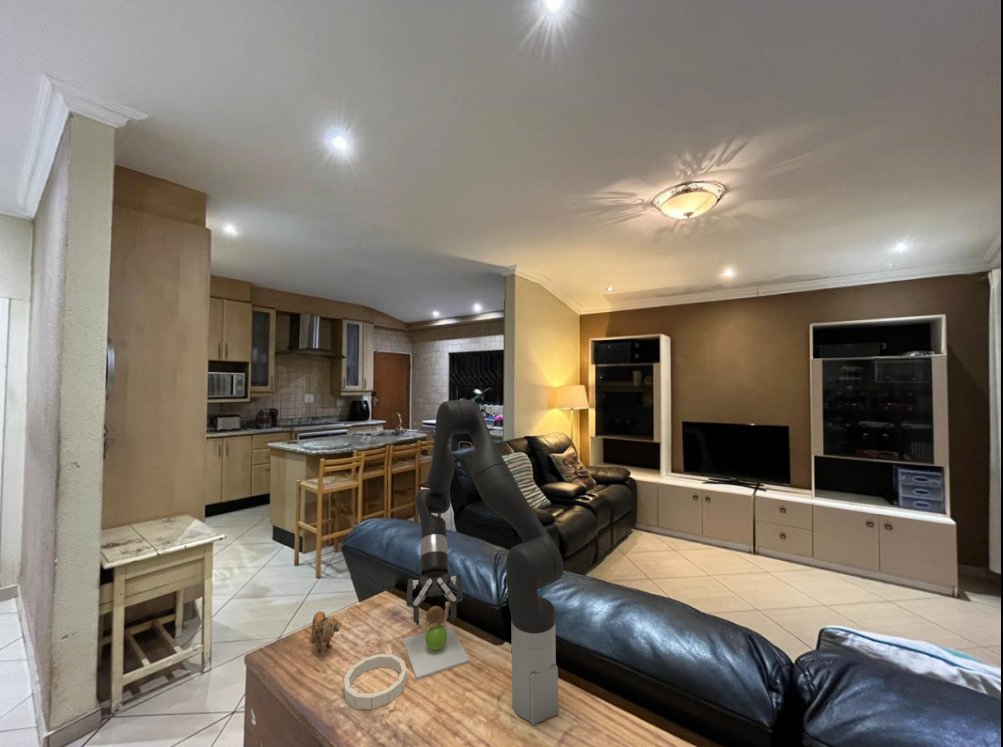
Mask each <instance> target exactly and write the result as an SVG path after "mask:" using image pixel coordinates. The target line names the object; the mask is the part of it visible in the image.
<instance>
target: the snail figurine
mask: <svg viewBox="0 0 1003 747" xmlns="http://www.w3.org/2000/svg"><path fill="white" fill-rule="evenodd" d="M448 598H449V600H450V599H451V598H450V596H448ZM449 600H448V601H445V603H444V609H443V608H442V607H441V606H439V605H434V606H431V607H430V608H428V610H427V612H426V614H425V618H426V619H425V620H426V621H427V622H428V623H426V625H425V626H426V627H427V628H428V629H427V631H426V636H425V641H426V644H427V646H428V647H429V648H430V649H431V650H439V649H441V648H442V647H443V646H444V645H445V643H446V641H447V632H446V630H445V628H444V627H445V626H443V624H445V622H446V621H447V619H448V617H449V612H450V604H451V603H450V601H449Z"/></svg>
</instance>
